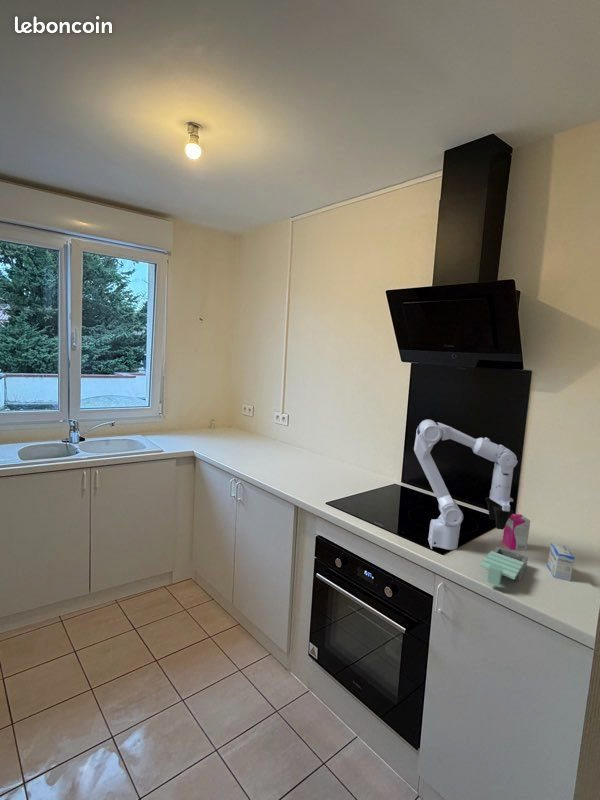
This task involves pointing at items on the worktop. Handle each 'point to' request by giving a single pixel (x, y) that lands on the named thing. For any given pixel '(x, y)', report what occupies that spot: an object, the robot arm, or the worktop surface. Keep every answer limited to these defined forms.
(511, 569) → the lid
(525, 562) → the tub
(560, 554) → the medicine box
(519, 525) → the supplement box
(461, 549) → the worktop surface
